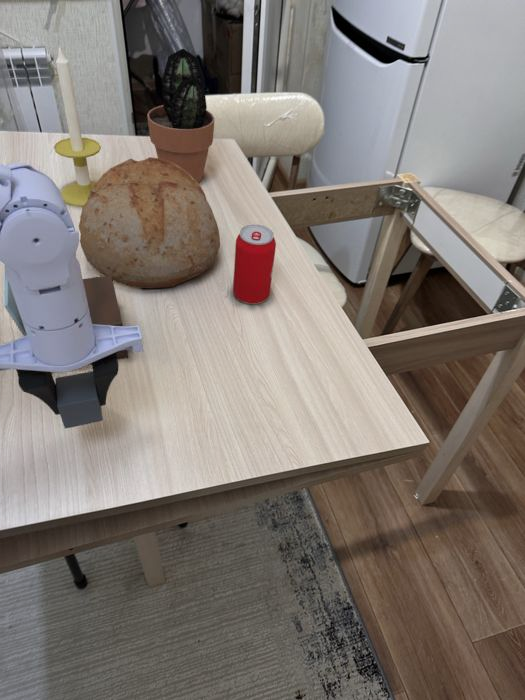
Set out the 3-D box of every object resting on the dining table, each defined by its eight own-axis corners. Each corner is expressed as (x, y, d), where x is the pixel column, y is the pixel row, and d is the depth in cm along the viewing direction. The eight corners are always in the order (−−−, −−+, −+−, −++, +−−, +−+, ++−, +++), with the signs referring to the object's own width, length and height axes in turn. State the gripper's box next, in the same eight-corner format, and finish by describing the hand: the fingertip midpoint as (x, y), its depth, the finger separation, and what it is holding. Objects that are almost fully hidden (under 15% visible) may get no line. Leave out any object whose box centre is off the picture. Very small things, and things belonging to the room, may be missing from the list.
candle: (85, 212, 95) (57, 57, 76) (49, 195, 98) (13, 42, 79) (121, 193, 101) (103, 46, 82) (86, 177, 104) (61, 32, 85)
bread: (84, 213, 94) (70, 136, 84) (203, 208, 100) (204, 135, 89) (84, 300, 77) (66, 216, 66) (228, 288, 83) (233, 209, 72)
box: (39, 373, 66) (27, 338, 61) (36, 321, 73) (25, 285, 68) (127, 357, 69) (122, 323, 65) (117, 309, 76) (111, 274, 72)
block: (64, 429, 52) (57, 406, 49) (62, 400, 55) (55, 377, 52) (103, 421, 53) (97, 398, 51) (99, 393, 56) (93, 370, 53)
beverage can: (270, 286, 84) (278, 225, 76) (267, 309, 80) (275, 247, 71) (235, 281, 84) (239, 220, 76) (229, 304, 80) (233, 241, 71)
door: (28, 338, 61) (25, 339, 61) (26, 286, 68) (23, 287, 68) (7, 305, 57) (4, 306, 57) (7, 253, 64) (4, 254, 64)
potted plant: (138, 178, 106) (126, 49, 89) (176, 157, 115) (172, 36, 97) (189, 198, 102) (188, 67, 85) (224, 175, 111) (229, 52, 93)
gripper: (130, 272, 48) (141, 364, 58) (-34, 292, 44) (8, 388, 54) (142, 318, 44) (152, 410, 53) (-39, 346, 39) (8, 440, 49)
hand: (80, 402), depth 53 cm, fingers closed on block, 4 cm apart
